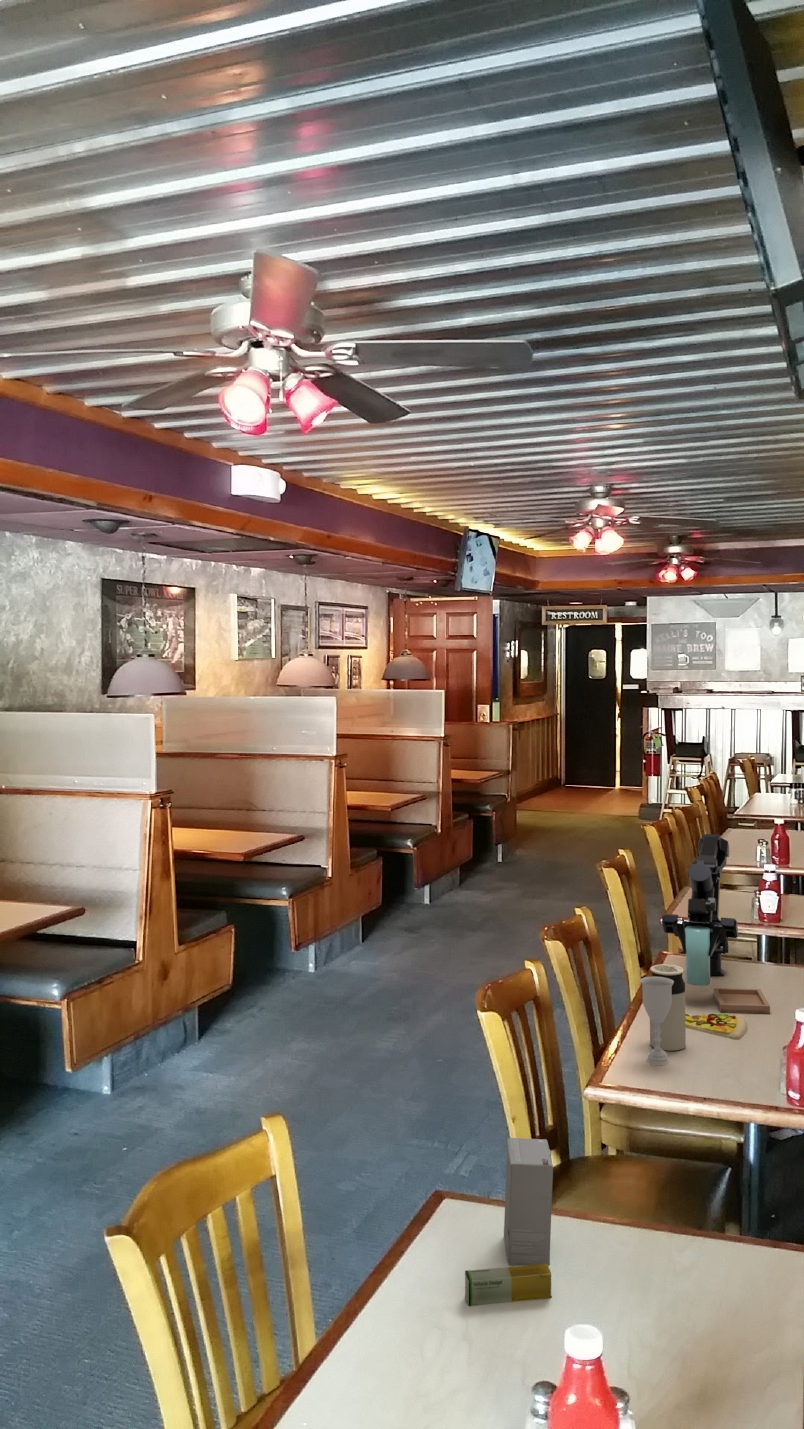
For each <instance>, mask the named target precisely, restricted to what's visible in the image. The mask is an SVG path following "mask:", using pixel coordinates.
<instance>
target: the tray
mask: <svg viewBox="0 0 804 1429" xmlns="http://www.w3.org/2000/svg"><path fill="white" fill-rule="evenodd" d="M712 991H713V992H712V995H713V998H714V1001H715V1003H716V1005H718V1006H717V1008H718V1010H719V1012H720V1014H721V1013H724V1014H755V1015H758V1014H759V1015H770V1014H771V1005H770V1004H769V1001H768V1000H767V999H766V998H767V997H766V996H765V995H764V993H763V991H762V990H761V989H760V988H730V987H729V988H727V987H712Z"/></svg>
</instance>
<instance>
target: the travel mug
mask: <svg viewBox="0 0 804 1429" xmlns="http://www.w3.org/2000/svg"><path fill="white" fill-rule="evenodd" d="M650 971H651V975H652V976H651V977H664V978H669V979H671V980H673V981H674V983H673V985H672V1004H671V1007H670V1010H669V1013H668V1014H667V1016H666V1018H665V1020H664V1022H662V1023H660V1030H661V1033H660V1038H661V1039H662V1041H660V1048H661V1049H662V1050H664V1051H665V1052H676V1051H680V1050H682V1049H684V1048H685V1047H686V1042H687V1040H686V1038H687V1036H686V1035H687V1034H686V1028H685V1014H686V981H684V978H683V973H684V971H685V970H684V968H683V967H682V966H679V965H674V964H669V963H668V964H666V963H665V964H664V963H663V964H660V963H659V964H656V965H652V966H651V967H650ZM654 1030H655V1023H654V1022H652V1021H651V1020H650V1019H649V1043H650V1044H649V1045H651V1047H653V1048H655V1045H656V1044H655V1041H654V1040H653V1039H654V1038H655V1032H654Z"/></svg>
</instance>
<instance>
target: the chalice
mask: <svg viewBox="0 0 804 1429" xmlns="http://www.w3.org/2000/svg"><path fill="white" fill-rule="evenodd" d="M639 981H640V983H641V985H642V1004H643V1007H644V1009H645V1012H646V1014H647V1016H648V1018H649V1021H650V1020H651V1021H652V1022H654V1023H655V1030H654V1032H655V1038H654V1039H653V1040H654V1041H655V1044H656V1045H655V1047H653V1048H652V1049H651V1050H649V1052H648V1054H647V1058H646V1060H645V1061H646V1063H647V1064H650V1065H653V1066H666V1065H669V1064H670V1060H669V1057H668V1055H667V1051H664V1050H662V1049H661V1048H660V1041H662V1039H661V1038H660V1033H661V1030H660V1023H662V1022H664V1020H665V1018H666V1016H667V1014H668V1013H669V1010H670V1007H671V1004H672V985H673V983H674V981H673V980H671V979H669V978H664V977H652V976H645V977H642V978H640V980H639Z"/></svg>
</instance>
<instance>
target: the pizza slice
mask: <svg viewBox="0 0 804 1429" xmlns="http://www.w3.org/2000/svg"><path fill="white" fill-rule="evenodd" d="M685 1029H691V1030H694V1031H699V1032H701V1033H702V1032H703V1033H707V1034H710V1035H714V1036H719V1037H722V1038H727V1039H730V1040H735V1041H739V1040H741V1039H742V1038H743V1037H744V1036H745V1035H746V1033H747V1030H748V1023H747V1021H746V1018H745V1017H744V1016H743V1015H742V1014H735V1015H729V1014H728V1013H724V1014H721V1013H718V1014H716V1013H709V1014H702V1015H700V1014H698V1015H697V1014H696V1015H689V1014H687V1013H685Z"/></svg>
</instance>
